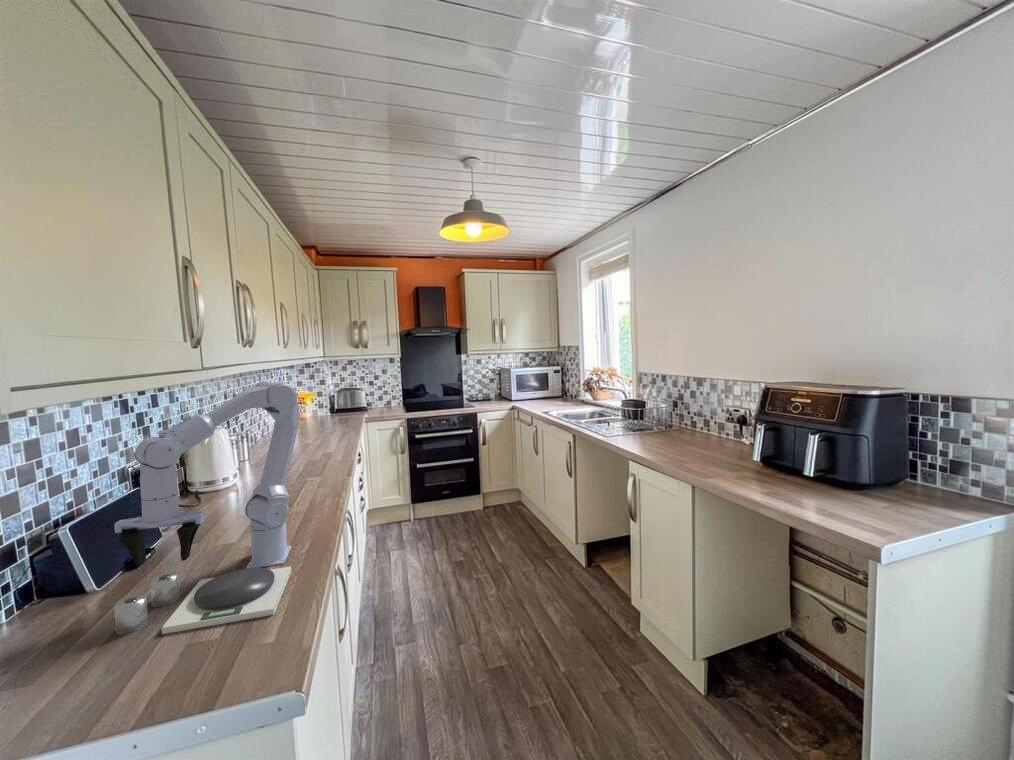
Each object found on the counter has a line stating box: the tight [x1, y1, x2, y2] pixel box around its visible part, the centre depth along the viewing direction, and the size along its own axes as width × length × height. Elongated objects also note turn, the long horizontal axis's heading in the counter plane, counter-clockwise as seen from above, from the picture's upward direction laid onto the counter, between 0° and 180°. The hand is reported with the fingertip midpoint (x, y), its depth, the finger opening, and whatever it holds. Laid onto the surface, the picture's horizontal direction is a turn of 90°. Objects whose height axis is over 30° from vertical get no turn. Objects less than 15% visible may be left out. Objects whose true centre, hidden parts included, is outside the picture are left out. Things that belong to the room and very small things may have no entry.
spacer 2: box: [150, 571, 181, 608], centre depth 85 cm, size 4×4×5 cm
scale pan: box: [194, 567, 275, 609], centre depth 86 cm, size 14×14×1 cm
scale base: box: [161, 566, 292, 635], centre depth 85 cm, size 17×18×2 cm
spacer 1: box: [113, 593, 149, 635], centre depth 77 cm, size 4×4×5 cm
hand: (163, 561), depth 84 cm, fingers open, 7 cm apart
